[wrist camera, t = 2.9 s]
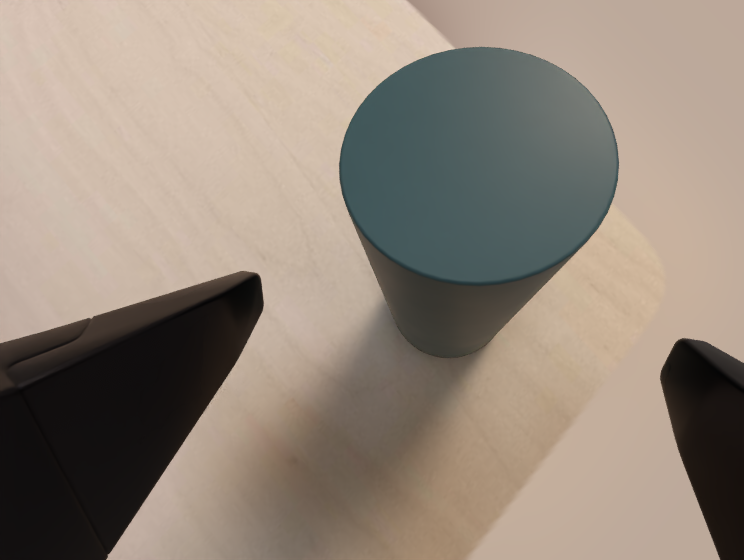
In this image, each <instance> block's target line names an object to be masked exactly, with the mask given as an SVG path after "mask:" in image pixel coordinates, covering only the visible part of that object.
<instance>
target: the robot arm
mask: <svg viewBox="0 0 744 560" xmlns="http://www.w3.org/2000/svg"><path fill="white" fill-rule="evenodd" d="M263 306H264V301H263V292H262V283H261V278H260V276H259V275H258V274H257V273H254V272H247V271H240V272H237V273H234V274H230V275H227V276H224V277H221V278H217V279H214V280H211V281H208V282H204V283H201V284H198V285H195V286H191V287H188V288H185V289H182V290H178V291H175V292H172V293H169V294H165V295H162V296H159V297H156V298H152V299H149V300H146V301H143V302H139V303H136V304H133V305H130V306H126V307H123V308H120V309H117V310H113V311H110V312H107V313H104V314H100V315H97V316H94V317H93V318H92V319H91V318H87V319H84V320H81V321H77V322H74V323H71V324H68V325H64V326H61V327H57V328H54V329H51V330H47V331H44V332H41V333H37V334H33V335H30V336H26V337H22V338H19V339H15V340H11V341H8V342H4V343H0V560H106V559H107V558H108V555H107V554H110V553H111V551H112V550H113V548H114V547H115V545H116V544H117V542H118V540H119V539H120V537H121V536H122V534H123V533H124V531H125V530H126V528H127V527H128V525H129V524H130V522H131V521H132V519H133V518H134V516H135V515H136V513H137V512H138V510H139V509H140V507H141V506H142V504H143V503H144V501H145V500H146V498H147V497H148V495H149V494H150V492H151V491H152V489H153V488H154V486H155V485H156V483H157V482H158V480H159V479H160V477H161V476H162V474H163V473H164V471H165V469H166V468H167V466H168V465H169V463H170V462H171V460H172V459H173V457H174V456H175V454H176V453H177V451H178V450H179V448H180V447H181V445H182V444H183V442H184V441H185V439H186V438H187V436H188V435H189V433H190V432H191V430H192V429H193V427H194V426H195V424H196V423H197V421H198V420H199V418H200V417H201V415H202V414H203V412H204V411H205V409H206V408H207V406H208V405H209V403H210V401H211V400H212V398H213V397H214V395H215V394H216V392H217V391H218V389H219V388H220V386H221V385H222V383H223V382H224V380H225V379H226V377H227V376H228V374H229V373H230V371H231V370H232V368H233V367H234V365H235V363H236V362H237V360H238V358H239V356H240V355H241V353H242V351H243V349H244V347H245V345H246V343H247V341H248V339H249V337H250V335H251V333H252V331H253V329H254V327H255V325H256V323H257V321H258V319H259V317H260V315H261V313H262V311H263ZM660 380H661V384H662V389H663V393H664V397H665V401H666V405H667V409H668V412H669V416H670V420H671V424H672V428H673V432H674V436H675V440H676V443H677V447H678V450H679V453H680V456H681V458H682V461H683V464H684V467H685V469H686V472H687V474H688V477H689V480H690V482H691V485H692V487H693V490H694V492H695V495H696V498H697V500H698V503H699V506H700V508H701V511H702V513H703V516H704V519H705V521H706V523H707V526H708V529H709V532H710V534H711V537H712V539H713V542H714V545H715V547H716V550H717V552H718V555H719V557H720V560H744V363H742V362H741V361H739V360H737V359H735V358H734V357H732V356H730V355H728V354H727V353H725V352H723V351H721V350H719V349H717V348H716V347H714V346H712V345H711V344H709V343H707V342H704V341H700V340H692V339H686V338H682V339H680V340H678V341H677V342H676V343H675V344H674V346H673V348H672V350H671V352H670V354H669V356H668V358H667V360H666V362H665V364H664V366H663V368H662V370H661V375H660Z"/></svg>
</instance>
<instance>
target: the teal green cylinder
mask: <svg viewBox="0 0 744 560" xmlns="http://www.w3.org/2000/svg"><path fill="white" fill-rule="evenodd" d="M618 169H619V159H618V149H617V143H616V139H615V135H614V132H613V129H612V126H611V124H610V122H609V120H608V118H607V115H606V114H605V112H604V110H603V109H602V107H601V106H600V104H599V102H598V101H597V100H596V99H595V97H594V96H593V95H592V94H591V93H590V92H589V90H588V89H587V88H586V87H584V86H583V85H582V84H581V83H580V82H579V81H578V80H577V79H576V78H574V77H573V76H571V75H570V74H569V73H567V72H566V71H564V70H563V69H561V68H559V67H557V66H556V65H554V64H552V63H550V62H548V61H546V60H543V59H541V58H538V57H536V56H533V55H530V54H526V53H523V52H519V51H514V50H508V49H502V48H491V47H473V48H462V49H454V50H448V51H444V52H440V53H436V54H433V55H430V56H427V57H425V58H422V59H419V60H417V61H415V62H413V63H411V64H409V65H407V66H405V67H403V68H401V69H400V70H398V71H397V72H395V73H393V74H392V75H390V76H389V77H388V78H387V79H385V80H384V81H383V82H382V83H380V84H379V85H378V86H377V87H376V88H375V89H374V90H373V91H372V92H371V93H370V94H369V95H368V96H367V97H366V99H365V100H364V101H363V103H362V104H361V105H360V107H359V108H358V110H357V111H356V113H355V115H354V116H353V118H352V120H351V122H350V124H349V127H348V129H347V131H346V134H345V137H344V141H343V144H342V148H341V154H340V162H339V175H340V185H341V190H342V195H343V198H344V201H345V204H346V207H347V210H348V212H349V215H350V217H351V219H352V222H353V224H354V226H355V229H356V231H357V233H358V236H359V238H360V240H361V243H362V245H363V247H364V250H365V252H366V254H367V257H368V259H369V261H370V264H371V266H372V268H373V271H374V273H375V276H376V278H377V280H378V283H379V285H380V287H381V290H382V292H383V294H384V297H385V299H386V301H387V304H388V306H389V308H390V311H391V313H392V315H393V318H394V320H395V322H396V325H397V327H398V329H399V330H400V332H401V333H402V335H403V336H404V337H405V338H406V339H407V341H408V342H410V343H411V344H412V345H413V346H414V347H416V348H417V349H419V350H421V351H423V352H425V353H427V354H430V355H433V356H437V357H444V358H454V357H461V356H465V355H468V354H471V353H473V352H475V351H477V350H479V349H480V348H482V347H483V346H484V345H485V344H487V343H488V342H489V341H490V340H491V339H492V338H493V337H494V336H495V335H496V334H497V333H498V332H499V331H500V330H501V329H502V328H503V327H504V326H505V325H506V324H507V323H508V322H509V321H510V319H511V318H512V317H513V316H514V315H515V314H516V313H517V312H518V311H519V310H520V309H521V308H522V307H523V306H524V305H525V304H526V303H527V302H528V301H529V300H530V299H531V298H532V297H533V296H534V295H535V294H536V293H537V292H538V291H539V290H540V289H541V288H542V287H543V286H544V285H545V284H546V283H547V282H548V281H549V280H550V279H551V278H552V277H553V276H554V275H555V274H556V273H557V272H558V271H559V270H560V269H561V268H562V267H563V266H564V265H565V264H566V262H567V261H568V260H569V259H570V258H571V257H572V256H573V255H574V254H575V253H576V252H577V251H578V250H579V249H580V248H581V247H582V246H583V245H584V244H585V243H586V242H587V241H588V240H589V239H590V237H591V236H592V235H593V234H594V233H595V231H596V230H597V229H598V228H599V226H600V224H601V223H602V221H603V219H604V218H605V216H606V214H607V213H608V210H609V208H610V205H611V203H612V200H613V198H614V194H615V190H616V186H617V181H618Z"/></svg>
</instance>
